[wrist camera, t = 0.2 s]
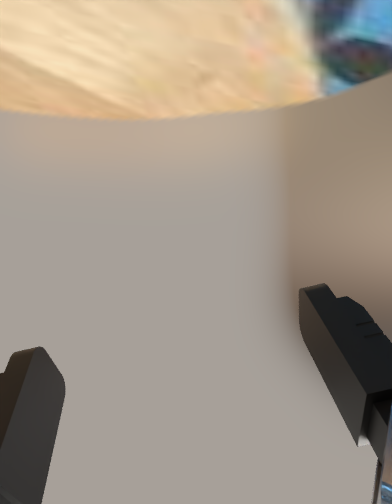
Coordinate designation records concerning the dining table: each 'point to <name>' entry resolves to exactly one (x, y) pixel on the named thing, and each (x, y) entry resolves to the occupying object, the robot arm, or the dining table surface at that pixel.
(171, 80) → the dining table surface
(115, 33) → the dining table surface
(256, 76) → the dining table surface
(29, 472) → the robot arm
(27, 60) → the dining table surface
